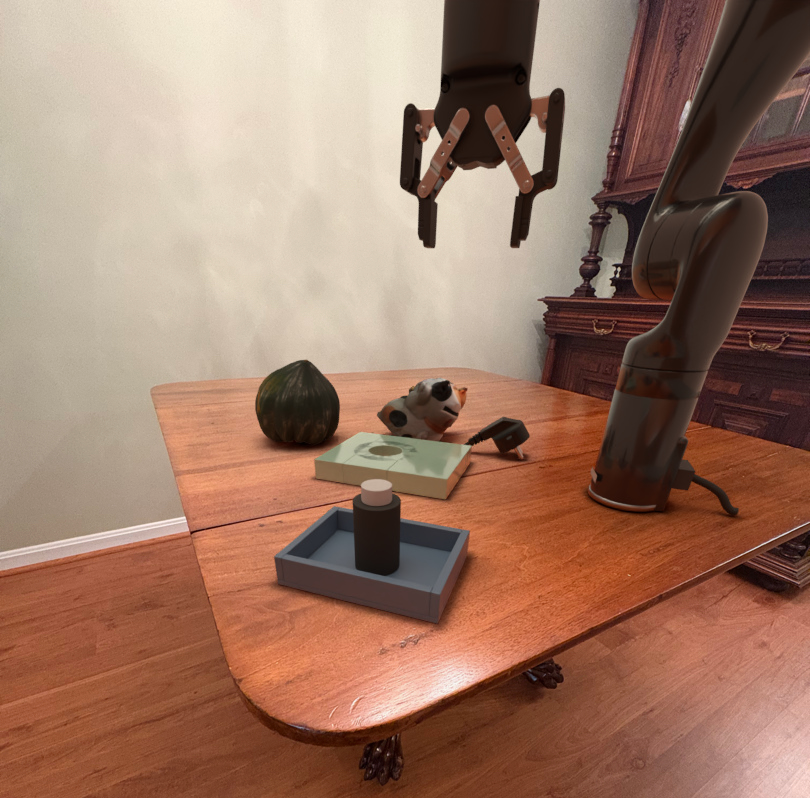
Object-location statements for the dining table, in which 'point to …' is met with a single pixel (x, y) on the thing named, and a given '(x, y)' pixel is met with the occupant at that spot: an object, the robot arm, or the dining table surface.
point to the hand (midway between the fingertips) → (471, 247)
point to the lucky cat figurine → (424, 410)
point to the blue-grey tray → (398, 592)
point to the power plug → (503, 435)
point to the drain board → (396, 463)
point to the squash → (297, 404)
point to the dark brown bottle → (377, 528)
